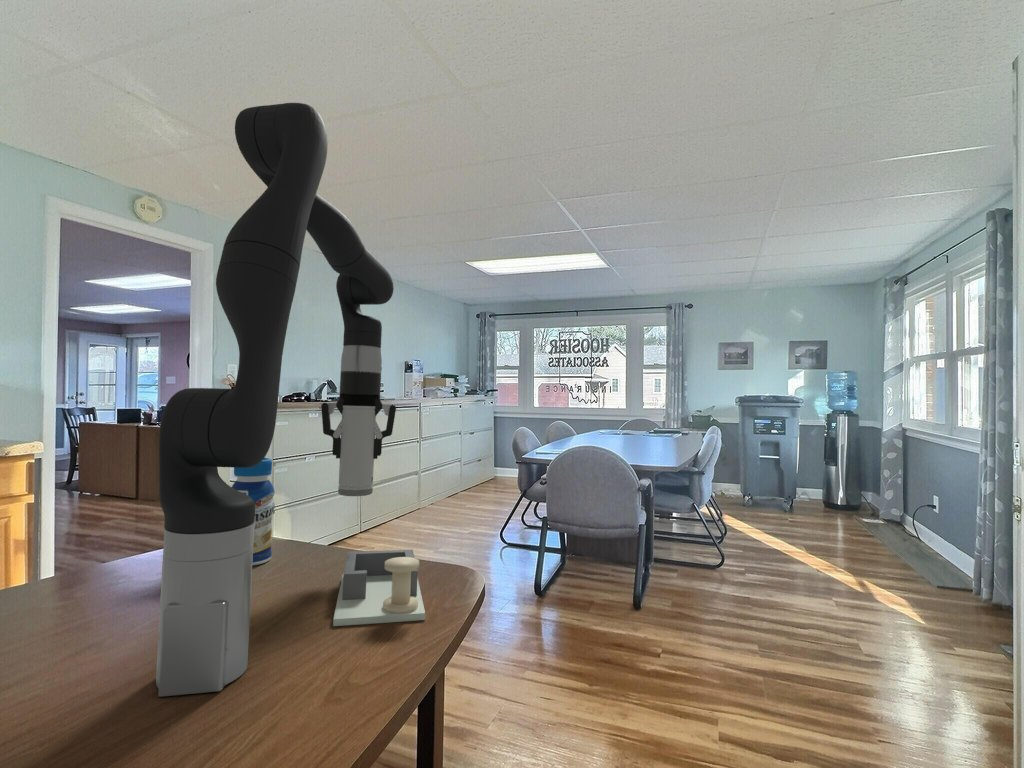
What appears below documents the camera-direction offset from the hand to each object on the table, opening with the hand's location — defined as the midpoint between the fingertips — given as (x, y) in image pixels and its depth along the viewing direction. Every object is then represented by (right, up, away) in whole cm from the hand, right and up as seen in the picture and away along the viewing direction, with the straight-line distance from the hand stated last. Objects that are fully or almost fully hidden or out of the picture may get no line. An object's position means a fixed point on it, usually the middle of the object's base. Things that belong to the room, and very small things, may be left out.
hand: (357, 458), depth 101 cm
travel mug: (0, -7, 0) cm, 7 cm away
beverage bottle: (-22, -21, +3) cm, 31 cm away
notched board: (+8, -21, -14) cm, 26 cm away
